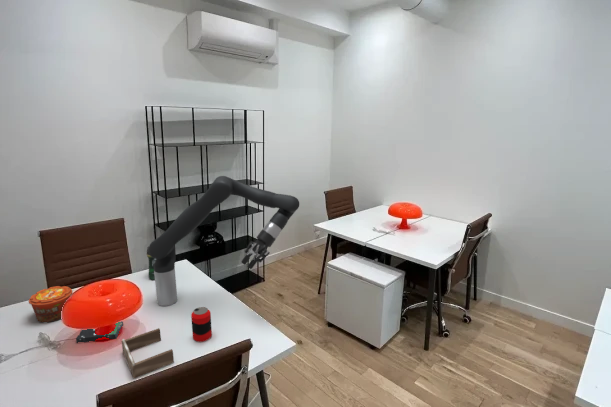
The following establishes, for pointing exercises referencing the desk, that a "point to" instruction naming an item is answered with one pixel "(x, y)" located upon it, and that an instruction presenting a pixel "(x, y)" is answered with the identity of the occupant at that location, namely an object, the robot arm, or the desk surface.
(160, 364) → the frame
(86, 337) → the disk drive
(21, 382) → the desk surface
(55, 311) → the food container
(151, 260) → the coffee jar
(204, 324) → the soda can
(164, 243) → the robot arm
